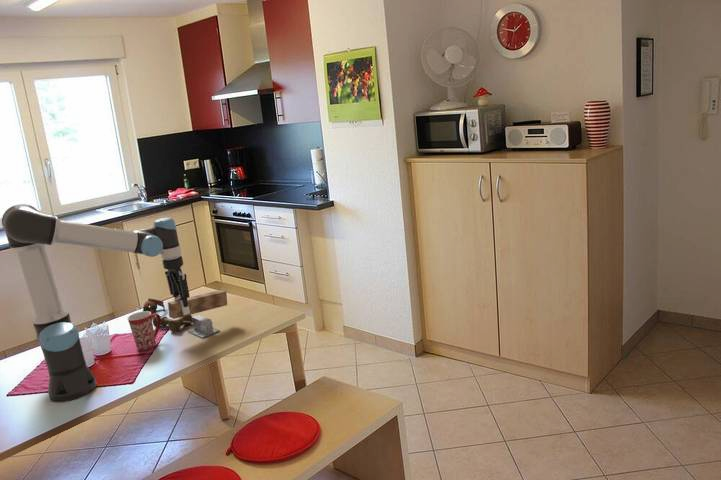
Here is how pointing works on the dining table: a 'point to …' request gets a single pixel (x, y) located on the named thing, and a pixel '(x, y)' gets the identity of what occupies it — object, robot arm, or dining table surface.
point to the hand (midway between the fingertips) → (183, 312)
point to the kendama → (173, 322)
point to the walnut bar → (199, 303)
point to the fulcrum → (202, 327)
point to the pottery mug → (152, 305)
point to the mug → (144, 329)
